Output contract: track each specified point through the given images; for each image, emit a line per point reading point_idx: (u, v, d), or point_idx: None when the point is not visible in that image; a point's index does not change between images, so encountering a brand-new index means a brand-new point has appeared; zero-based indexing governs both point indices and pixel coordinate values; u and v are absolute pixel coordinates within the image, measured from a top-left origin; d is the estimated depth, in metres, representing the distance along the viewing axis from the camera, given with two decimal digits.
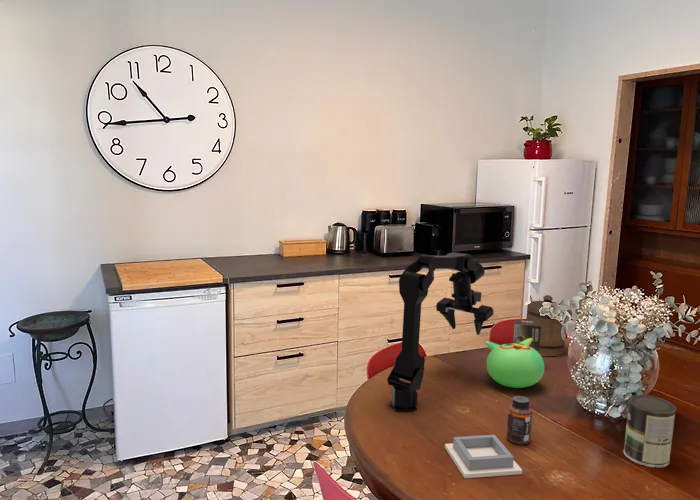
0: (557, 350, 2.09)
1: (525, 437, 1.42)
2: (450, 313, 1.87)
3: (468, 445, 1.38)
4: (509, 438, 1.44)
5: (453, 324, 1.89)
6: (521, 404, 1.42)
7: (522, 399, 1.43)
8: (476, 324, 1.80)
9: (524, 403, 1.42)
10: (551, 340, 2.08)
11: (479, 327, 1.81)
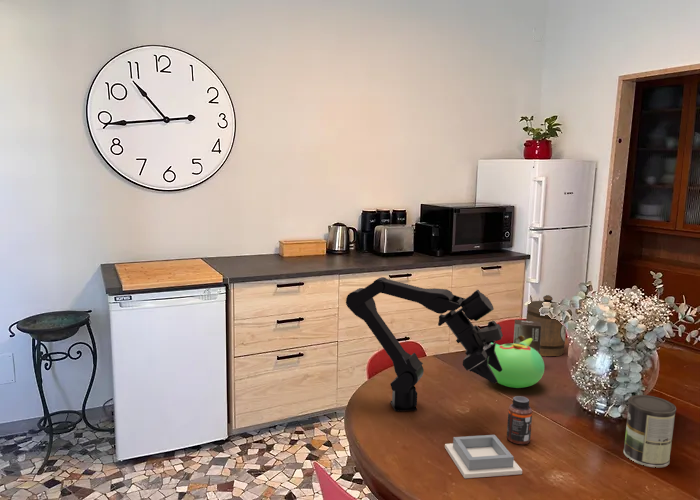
0: (557, 350, 2.09)
1: (525, 437, 1.42)
2: None
3: (468, 445, 1.38)
4: (509, 438, 1.44)
5: (495, 366, 1.56)
6: (521, 404, 1.42)
7: (522, 399, 1.43)
8: None
9: (524, 403, 1.42)
10: (551, 340, 2.08)
11: (484, 375, 1.47)
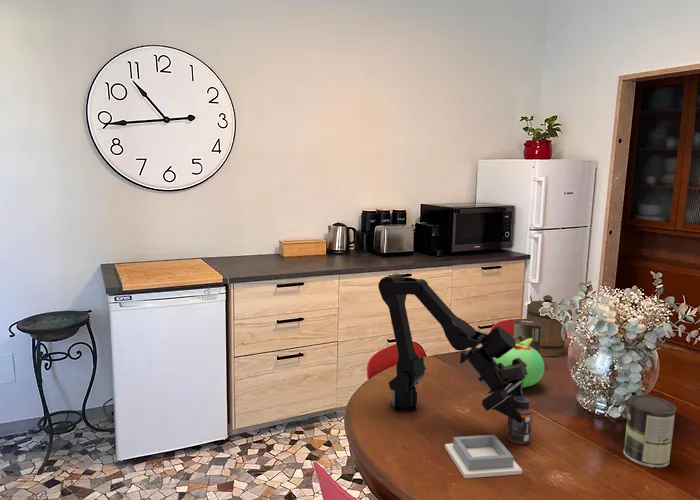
0: (557, 350, 2.09)
1: (525, 437, 1.42)
2: (511, 394, 1.49)
3: (468, 445, 1.38)
4: (509, 438, 1.44)
5: None
6: (521, 404, 1.42)
7: (522, 398, 1.43)
8: None
9: (524, 403, 1.42)
10: (551, 340, 2.08)
11: (508, 414, 1.41)
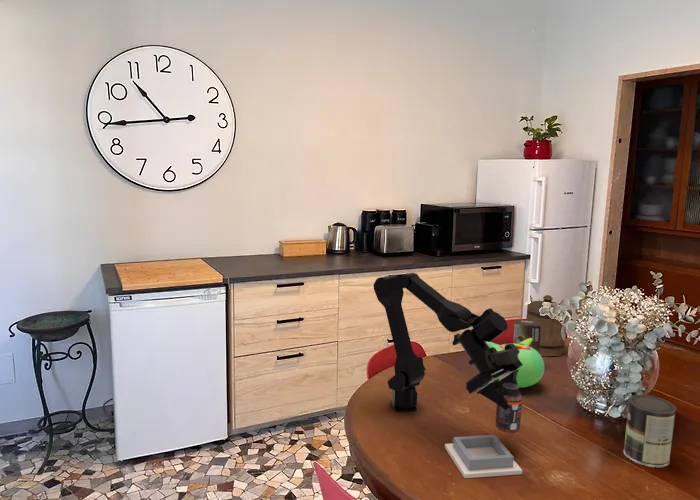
0: (557, 350, 2.09)
1: (512, 426, 1.36)
2: (504, 381, 1.43)
3: (468, 445, 1.38)
4: (496, 425, 1.39)
5: None
6: (508, 391, 1.36)
7: (511, 385, 1.37)
8: None
9: (512, 390, 1.36)
10: (551, 340, 2.08)
11: (494, 399, 1.36)
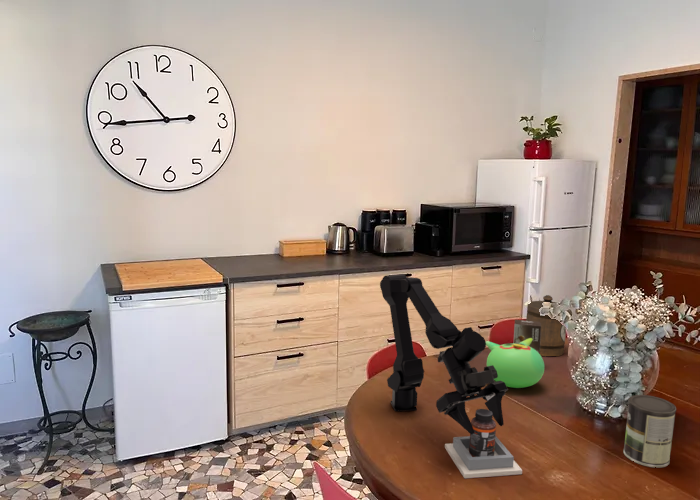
0: (557, 350, 2.09)
1: (482, 454, 1.32)
2: (489, 402, 1.38)
3: (468, 445, 1.38)
4: (469, 451, 1.35)
5: (497, 419, 1.36)
6: (479, 417, 1.32)
7: (485, 412, 1.33)
8: None
9: (483, 416, 1.31)
10: (551, 340, 2.08)
11: (460, 422, 1.32)
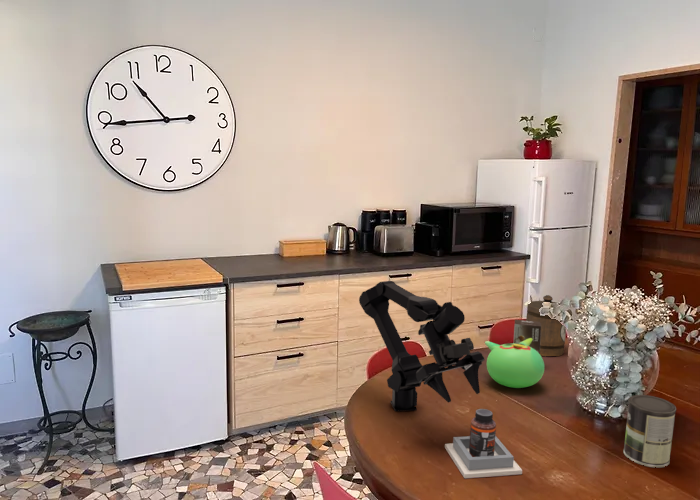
0: (557, 350, 2.09)
1: (482, 454, 1.32)
2: (467, 372, 1.47)
3: (468, 445, 1.38)
4: (469, 451, 1.35)
5: (474, 387, 1.44)
6: (479, 417, 1.32)
7: (485, 412, 1.33)
8: None
9: (483, 416, 1.31)
10: (551, 340, 2.08)
11: (438, 391, 1.40)
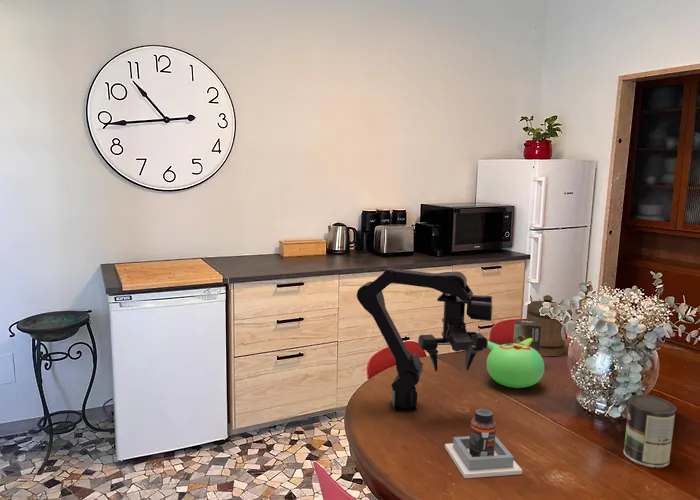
0: (557, 350, 2.09)
1: (482, 454, 1.32)
2: None
3: (468, 445, 1.38)
4: (469, 451, 1.35)
5: (466, 363, 1.59)
6: (479, 417, 1.32)
7: (485, 412, 1.33)
8: None
9: (483, 417, 1.31)
10: (551, 340, 2.08)
11: (431, 358, 1.57)
